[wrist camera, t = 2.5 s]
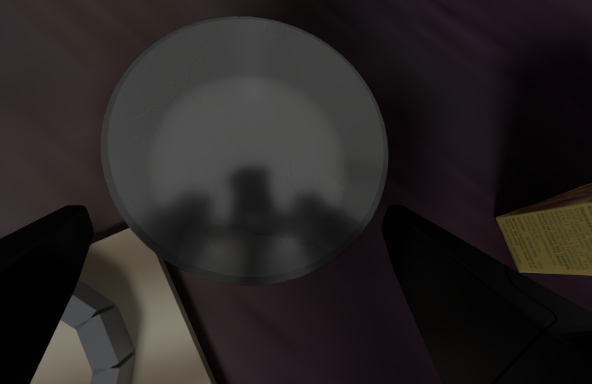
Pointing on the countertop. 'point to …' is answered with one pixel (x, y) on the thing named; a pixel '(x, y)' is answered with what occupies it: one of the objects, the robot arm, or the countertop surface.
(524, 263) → the candy box
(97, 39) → the countertop surface
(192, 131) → the metal canister
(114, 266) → the duct board
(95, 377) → the collar
